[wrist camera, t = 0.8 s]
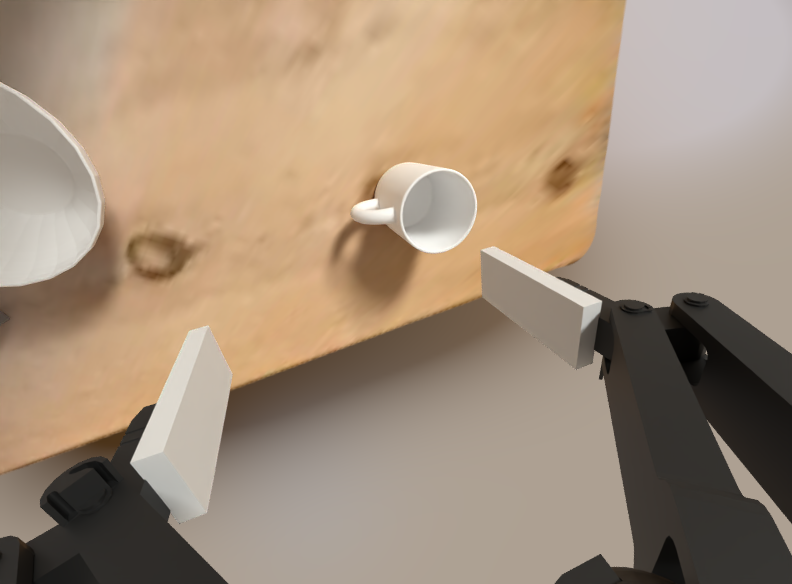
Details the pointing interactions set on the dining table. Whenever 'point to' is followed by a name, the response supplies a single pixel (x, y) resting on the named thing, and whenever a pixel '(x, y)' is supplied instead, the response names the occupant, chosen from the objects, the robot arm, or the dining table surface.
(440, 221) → the mug
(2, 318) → the panel
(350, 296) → the dining table surface
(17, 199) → the bowl
